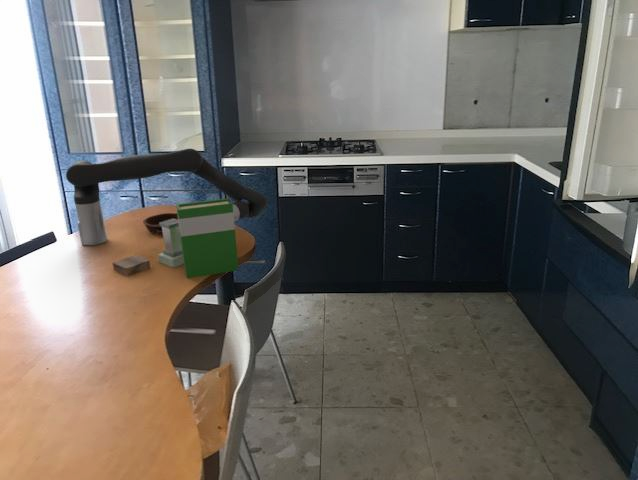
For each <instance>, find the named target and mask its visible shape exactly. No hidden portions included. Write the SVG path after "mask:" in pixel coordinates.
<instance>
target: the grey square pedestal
mask: <svg viewBox="0 0 638 480" xmlns="http://www.w3.org/2000/svg"><path fill="white" fill-rule="evenodd" d="M159 225H160V226H162V232H163V235H162V237H163V244H164V249H165V250H163V252H164V254H165V255H168V256H171V257H173V258H174V257H176V256H179V255H182V254H183V251H182V243H181V236H180V229H179V221H178V220H177V219H174V218H173V219H170V220H166V221H163V222H160V223H159ZM163 252H162V253H163Z"/></svg>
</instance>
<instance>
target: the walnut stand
mask: <svg viewBox="0 0 638 480" xmlns="http://www.w3.org/2000/svg"><path fill="white" fill-rule="evenodd" d="M112 267H113V271H114V272H116V273H118V274H122V275H123V276H126V277H127V278H128V277H130V276H133V275H136V274H138V273H141V272H143V271H146V270H149V269H151V262H150V260H149V259H148V258H144V257H142V256H140V255H137V254H134V255H130V256H128V257H125V258H122V259H119V260H116V261H113V262H112Z"/></svg>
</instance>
